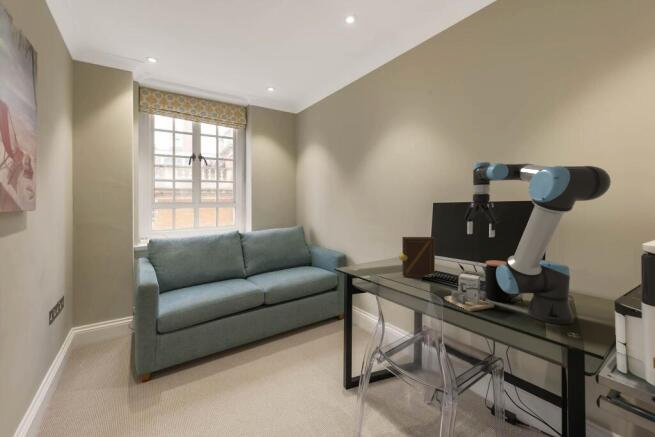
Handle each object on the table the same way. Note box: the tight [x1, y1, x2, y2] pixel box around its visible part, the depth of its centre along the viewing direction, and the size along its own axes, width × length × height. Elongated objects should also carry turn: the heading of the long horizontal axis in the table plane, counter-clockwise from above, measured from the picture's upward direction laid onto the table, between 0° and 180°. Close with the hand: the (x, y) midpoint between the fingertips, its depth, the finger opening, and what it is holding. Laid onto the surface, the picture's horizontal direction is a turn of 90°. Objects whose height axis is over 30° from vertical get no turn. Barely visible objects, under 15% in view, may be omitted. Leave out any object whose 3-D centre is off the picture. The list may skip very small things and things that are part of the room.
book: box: [398, 236, 436, 279], centre depth 184 cm, size 22×8×25 cm, turn 82°
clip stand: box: [444, 290, 495, 312], centre depth 136 cm, size 16×14×6 cm
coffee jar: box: [484, 259, 511, 303], centre depth 141 cm, size 11×11×18 cm
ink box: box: [457, 273, 481, 303], centre depth 136 cm, size 9×5×12 cm, turn 51°
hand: (480, 235), depth 146 cm, fingers open, 13 cm apart
